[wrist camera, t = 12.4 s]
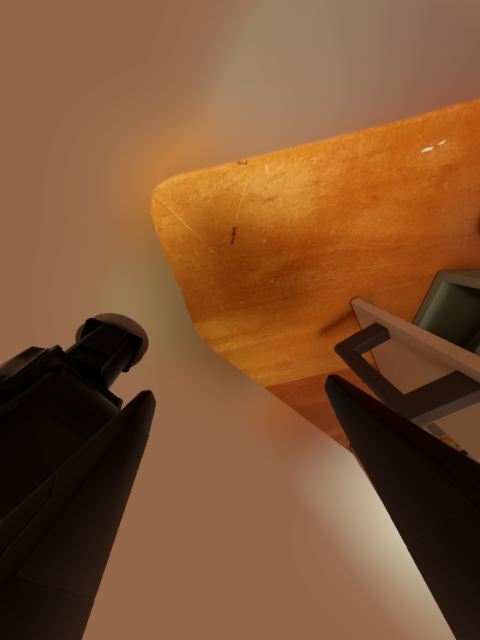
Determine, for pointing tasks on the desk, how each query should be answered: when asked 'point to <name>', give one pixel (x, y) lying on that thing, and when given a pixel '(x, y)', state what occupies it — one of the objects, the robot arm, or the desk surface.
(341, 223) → the desk surface
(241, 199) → the desk surface
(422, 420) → the shelf door
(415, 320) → the cupboard
